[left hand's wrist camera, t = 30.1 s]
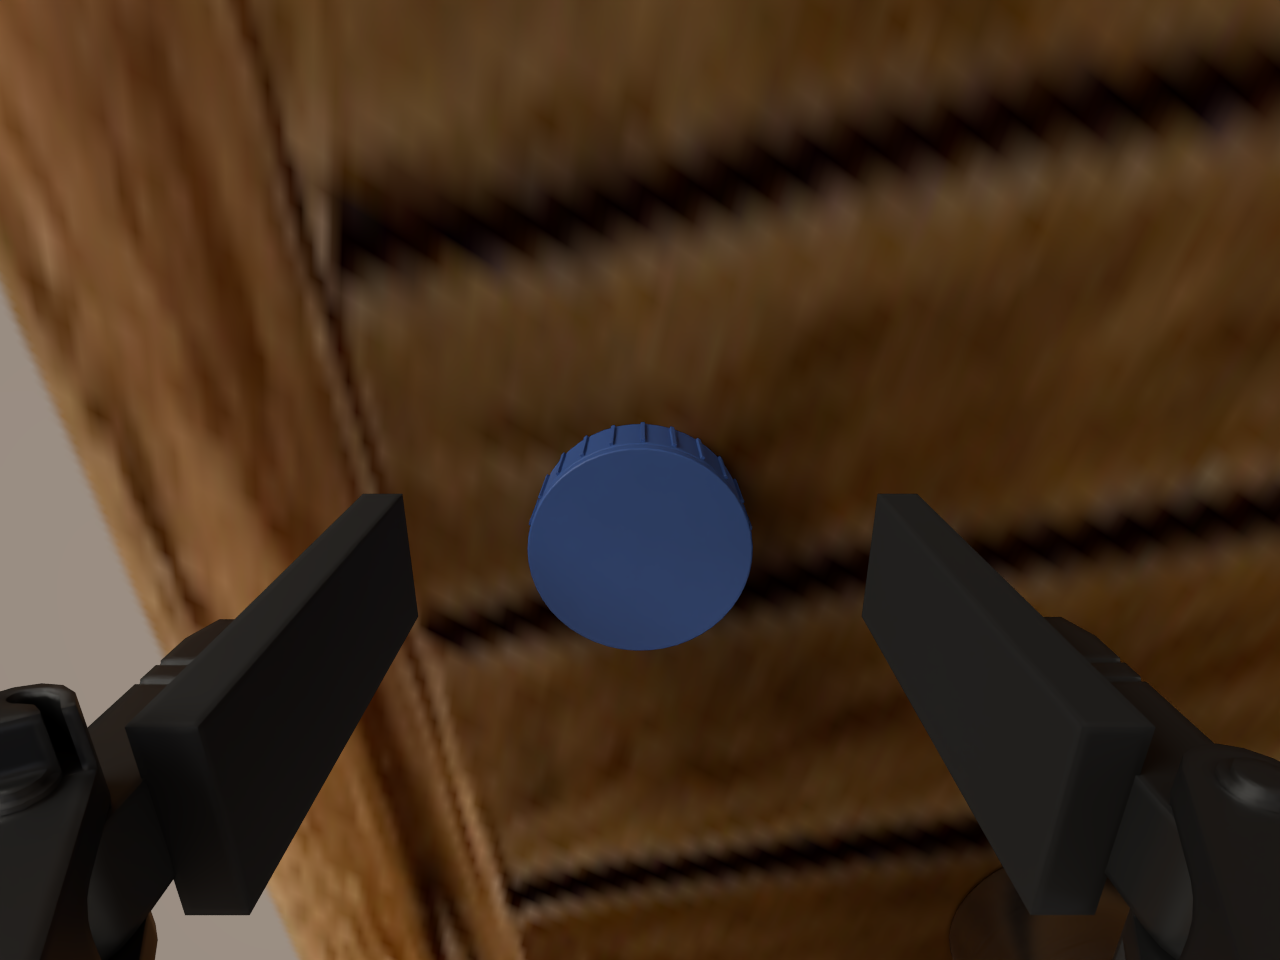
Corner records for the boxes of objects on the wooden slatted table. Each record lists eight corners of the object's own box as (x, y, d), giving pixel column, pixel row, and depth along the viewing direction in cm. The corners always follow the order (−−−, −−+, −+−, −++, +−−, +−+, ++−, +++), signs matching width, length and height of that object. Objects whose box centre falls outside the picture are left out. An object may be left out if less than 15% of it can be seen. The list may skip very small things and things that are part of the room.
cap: (606, 379, 14) (602, 399, 13) (785, 491, 15) (803, 523, 14) (500, 548, 16) (484, 585, 14) (669, 642, 17) (672, 687, 15)
